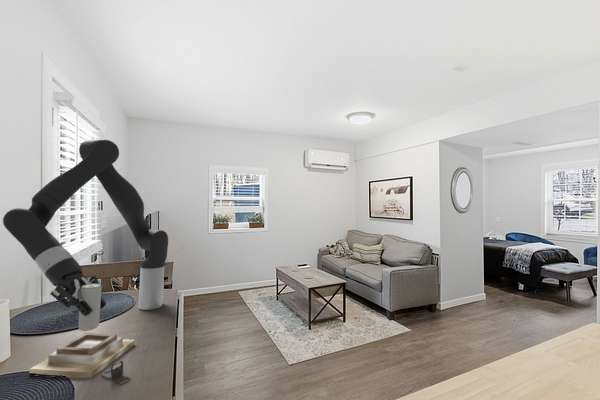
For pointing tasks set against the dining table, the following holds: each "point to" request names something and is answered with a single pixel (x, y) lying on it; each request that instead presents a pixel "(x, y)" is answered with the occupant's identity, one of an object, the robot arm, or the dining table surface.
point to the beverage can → (93, 299)
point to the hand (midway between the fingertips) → (96, 310)
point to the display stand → (84, 356)
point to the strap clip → (116, 374)
